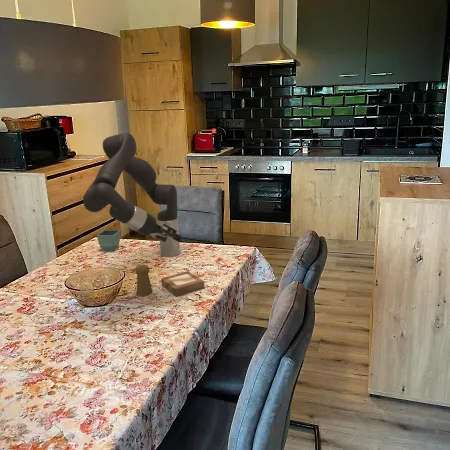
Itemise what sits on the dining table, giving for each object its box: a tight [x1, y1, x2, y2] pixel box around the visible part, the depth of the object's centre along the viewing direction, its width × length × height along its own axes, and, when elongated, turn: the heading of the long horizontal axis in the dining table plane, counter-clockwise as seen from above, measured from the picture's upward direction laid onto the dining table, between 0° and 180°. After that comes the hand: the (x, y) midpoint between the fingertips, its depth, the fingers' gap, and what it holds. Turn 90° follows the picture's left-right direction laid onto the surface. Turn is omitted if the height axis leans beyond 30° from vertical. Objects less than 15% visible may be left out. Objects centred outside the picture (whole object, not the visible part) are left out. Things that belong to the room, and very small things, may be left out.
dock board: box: [160, 270, 205, 298], centre depth 170 cm, size 13×12×3 cm
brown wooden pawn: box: [134, 264, 154, 297], centre depth 166 cm, size 6×6×11 cm
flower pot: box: [96, 229, 121, 252], centre depth 217 cm, size 9×9×9 cm
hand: (173, 239), depth 160 cm, fingers open, 8 cm apart
